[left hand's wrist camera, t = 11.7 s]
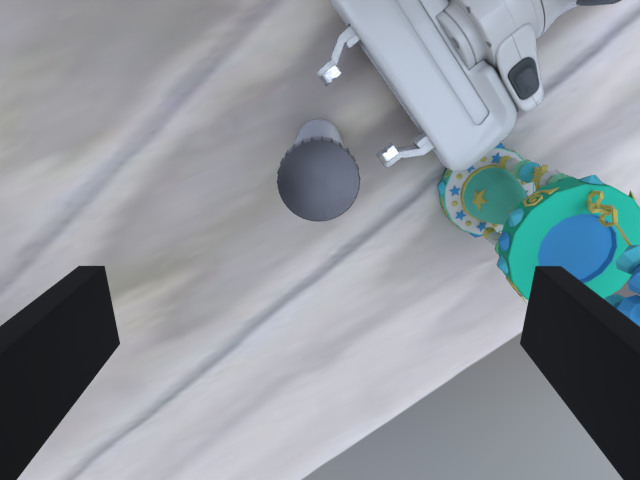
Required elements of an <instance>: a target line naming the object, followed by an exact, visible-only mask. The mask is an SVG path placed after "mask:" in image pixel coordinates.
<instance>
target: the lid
mask: <svg viewBox="0 0 640 480" xmlns="http://www.w3.org/2000/svg"><path fill="white" fill-rule="evenodd" d="M355 161H356V160H355V158H354V156H352V155H351V153H350V151H349V149H348V148H346V147H345V146H343V145H342V143H341V142H338V141H336V140H334V139H332V137H331V138H327V137H323V136H322V135H321V137H319V136H317V137H313V136H311V137H310V138H306V139H302V140H301V141H300V142H298V143H296V144H295V143H294V144H293V147H292V148H291V149H290V150H287V152H286V154H285V157H284V158H282V160H281V163H280V164H281V166H280V168H279V170H278V172H277V173H278V180H277V183H278V189H279V193H280V196H281V198H282V200H283V202H284V203H285V205H286V206H287V207H288V208H289V209H290V210H291V211H292V212H293V213H294V214H296V215H297V216H299V217H301V218H303V219H307V220H310V221H327V220H331V219H334V218H336V217H338V216H340V215H341V214H343V213H344V212H345V211H347V210H348V209H349V208H350V206H351V205H352V204H353V202H354V201H355V199H356V197H357V194H358V190H359V184H360V177H359V171H358V170H359V168H358V166H357V164H356V163H355Z"/></svg>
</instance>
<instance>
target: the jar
mask: <svg viewBox="0 0 640 480" xmlns="http://www.w3.org/2000/svg"><path fill="white" fill-rule="evenodd" d="M321 135H322V136H323V137H327V138H331V137H332V139H334V140H336V141H338V142H341V143H342V145H343V146H344V144H343V142H342V139H341V137H340V134H339V132H338V130H337V128H336V127H335V126H334V125H333V124H332V123H331V122H329V121H327V120H324V119H314V120H311V121H309V122H307V123H305V124H304V125H303V126H302V128H301V129H300V131H299V133H298V135H297V138H296V140H295V144H296V143H298V142H300V141H301V140H302V139H306V138H310V137H311V136H313V137H317V136H319V137H321Z"/></svg>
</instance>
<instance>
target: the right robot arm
mask: <svg viewBox="0 0 640 480" xmlns="http://www.w3.org/2000/svg"><path fill="white" fill-rule="evenodd" d="M619 1H621V0H330V2H331V4H332V6H333V7H334V8H335V10H336V11H337V13H338V14H339V16H340V17H341V19H342V20H343V21H344V23H345V24H346V26H347V27H348V28H347V29H346V30H345V31H344V32H342V33H341V34H340V35H339V37H338V40H337V42H336V45H335V48H334V50H333V53H332V56H331V58H330V59H331V60H330V61H329V62H328V63H327V64H326V65H324V66H323V67H322V68H321V69H320V70H319V71H318V72H316V74H317V75H318V77H319V78H320V79H321V81H322V82H323V83H324V85H325V86H327V85H328V84H329V83H331V82H332V79H333V78H337V77H338V76H339V75H340V74H341V72H340V70H339V69H338V68H337V66H336V65H337V63H338V60H339V57H340V55H341V52H342V50H343V47H344V44H345V47H346V48H347V49H350V48H351V47H352V46H353V45H355V44H356V43H357V42H358V43H359V45H360V46H361V47H362V49H363V50H364V52H365V53H366V55H367V56H368V58H369V59H370V60H371V62H372V63H373V65H374V66H375V68H376V69H377V71H378V72H379V73H380V75H381V76H382V78H383V79H384V81H385V82H386V84H387V85H388V86H389V88H390V89H391V91H392V92H393V94H394V95H395V97H396V98H397V99H398V101H399V102H400V104H401V105H402V107H403V108H404V110H405V111H406V112H407V114H408V115H409V117H410V118H411V120H412V121H413V123H414V124H415V125H416V127H417V128H418V130H419V131H420V133H421V134H419V135H418V136H417V137H415V138H414V139H413V140H412V142H413V143H414V144H415V146H409V147H403V148H397V149H396V148H395V147H394V145H393V144H391V143H389V144H388V145H387V146H385V148H384V150H380V151H379V152H378V153H377V154H376V155H377V156H378V157H379V159H380V160H381V162H382V163H383V164H384V166H385V167H386V168H388V167H390V166H391V165H393V164H394V163H395V162H397V161H398V160H399V159H401V158H402V157H403V158H408V157H415V156H422V155H425V154H426V153H428V152H429V151H430V150H433V151H434V153H435V154H436V156H437V157H438V159H439V160H440V161H441V163H442V164H443V165H444V166H445V167H446V168H448V169H449V170H451V171H464V170H467V169H468V168H470V167H471V166H473V165H474V164H476V163H477V162H478V161H480V160H481V159H482V158H483V157H485V156H486V155H487V154H488V153H489V152H490V151H492V150H493V149H494V148H495V147H496V146H497V145H498V144H499V143H500V142H502V141H503V140H504V139H505V138H506V137H507V136H508V134H509V133H510V132H511V131H512V129H513V127H514V126H515V123H516V120H517V112H526V111H530V110H532V109H534V108H535V107H537V106H538V105H539V104H540V103H541V102H542V100H543V97H544V92H543V85H542V80H541V75H540V69H539V63H538V56H537V48H536V39H538V38H539V37H540V36H541V35H542V34H544V33H545V32H546V30H547V29H548V28H549V27H550V25H551V24H552V23H553V22H554V21H555V20H556V18H557V17H559V16H560V15H561V14H563V13H564V12H566V11H567V10H569V9H572V8H574V7H576V6H579V5H583V6H593V5H605V4H614V3H617V2H619Z"/></svg>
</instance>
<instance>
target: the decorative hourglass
mask: <svg viewBox="0 0 640 480" xmlns="http://www.w3.org/2000/svg"><path fill="white" fill-rule="evenodd" d="M547 167H548V165H542V166H541V168H540V167H539V164H536V163H534V162H531V161H529V160H524V159H523V158H522V157H521V156H519V155H518V154H517V152H514V151H512V150H509V149H504V146H503V145H502V144H501V143H499V144H498V145H497V146H496V147H495V148H494V149H493V150H492V151H490V152H489V153H488V154H487V155H486V156H485V157H483V158H482V159H481V160H480V161H478V162H477V163H476V164H474V165H473V166H471V167H470V168H468V169H467V170H464V171H451V170H449V169H448V168H447V169H446V172H445V174H444V177H443V179H442V181H441V182H440V184H439V185H438V186H437V187H438V190H439V192H440V203H441V205H442V207H443V209H444V211H445V213H446V215H447V217H448V218H449V220H450V221H451V222H452V223H453V224H455V225H456V226H457V227H458V228H459V229H461V230H463V231H466V232H469V233H470V234H471V235H473V236H474V237H479V236H482V235H483V236H484V237H485V238H486V239H489V242H490V243H492V244H496V246H495V251H496V253H497V254H499V260H498V262H497V266H498V268H499V269H500V270H502V271H503V273H504V274H505V275H506V276H507V277H506V279H507V280H508V282H509V283H510V285H511V286H512V287H513V289H514V290H515V291H516V292H517V293H518V294H519V295H520V296H521V298H522V299H523V300H524V298H523V296H524V297H525V298H526V299H527V300H529V296H530V291H531V286H532V281H533V276H534V271H535V266H562V267H563V268H564V269H566V270H567V271H568V272H569V273H571V274H572V275H573V276H575V277H576V278H577V279H579V280H580V281H581V282H583V283H584V284H585V285H586V286H588V287H589V288H590V289H592V290H593V291H594V292H596V293H597V294H598V295H599V296H601V297H602V298H603V299H605V300H606V301H607V302H609V303H610V304H611V305H612V306H614V307H615V308H616V309H618V310H619V311H620V312H622V313H623V314H624V315H626V316H627V317H628V318H629V319H631V320H632V321H633V322H635V323H636V324H637V325H639V326H640V296H638V295H635V296H631V297H627V298H625V297H623V296H620V295H618V294H616V295H612V294H613V293H615V292H616V291H618V290H619V289H621V288H622V286H623V285H624V284H625V283H626V282H627V281H628V279H629V278H630V277H631V278H630V280H629V281H628V286H629V290H631V291H634V292H636V293H638V294H640V207H639V206H638V205H637V203H636V202H635V197H634V196H633V194H632V192H631V190H630V194H629V196H628V195H626V194H624V193H623V192H621V191H619V190H617V189H616V188H614V187H612V186H609V185H606V184H604V183H602V182H601V181H600V180H599V178H598V177H597V176H596V175H591V176H588V177H585V178H582V179H576V178H574V177H572V176H571V177H569V176H568V175H566V174H563V173H560V172H558V171H555V170H552V171H548V172H547ZM534 182H535V186H536V191H535V192H534ZM500 231H502V234H500V233H498V232H500ZM519 292H520V293H521V294H522V295H523V296H522V295H521V294H520V293H519ZM610 295H612V296H610ZM524 301H525V300H524ZM525 303H526V302H525Z"/></svg>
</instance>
